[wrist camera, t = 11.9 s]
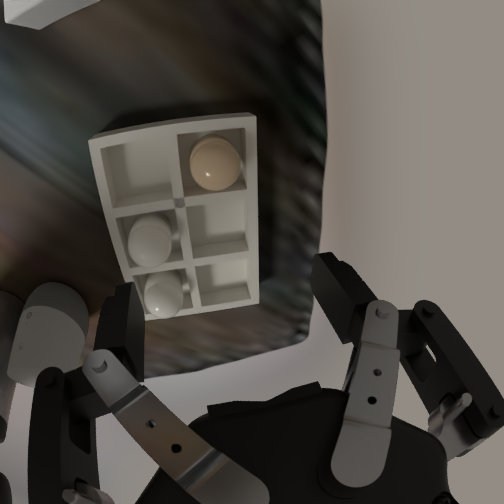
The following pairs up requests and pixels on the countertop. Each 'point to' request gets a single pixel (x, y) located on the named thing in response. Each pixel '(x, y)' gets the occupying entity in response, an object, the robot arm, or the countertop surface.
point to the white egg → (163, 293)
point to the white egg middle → (150, 239)
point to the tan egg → (214, 162)
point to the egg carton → (184, 207)
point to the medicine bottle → (41, 11)
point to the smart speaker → (48, 333)
